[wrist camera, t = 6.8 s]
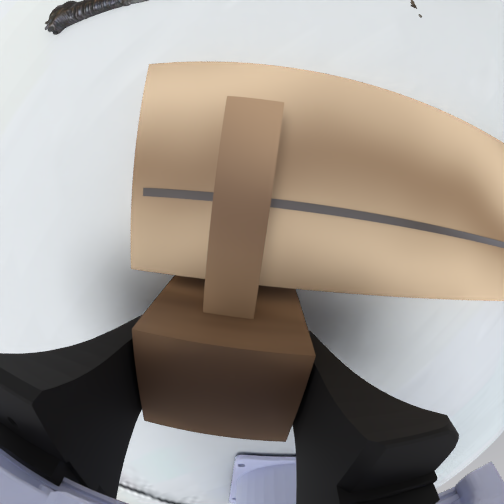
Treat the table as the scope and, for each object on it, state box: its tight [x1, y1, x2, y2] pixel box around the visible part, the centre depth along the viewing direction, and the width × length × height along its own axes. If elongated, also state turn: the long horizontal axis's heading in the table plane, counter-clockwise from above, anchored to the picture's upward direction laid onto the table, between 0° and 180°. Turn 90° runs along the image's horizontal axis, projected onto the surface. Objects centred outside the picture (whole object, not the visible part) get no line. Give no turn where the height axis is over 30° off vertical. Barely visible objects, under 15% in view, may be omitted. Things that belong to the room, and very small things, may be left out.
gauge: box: [132, 96, 316, 442], centre depth 9 cm, size 10×5×5 cm, turn 173°
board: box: [131, 62, 504, 301], centre depth 10 cm, size 8×22×2 cm, turn 84°
